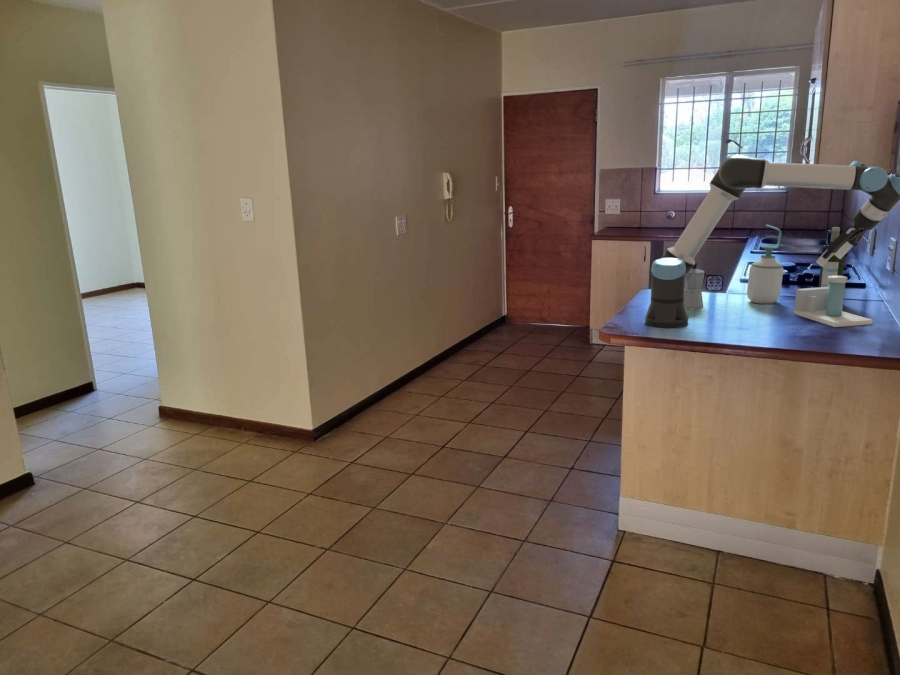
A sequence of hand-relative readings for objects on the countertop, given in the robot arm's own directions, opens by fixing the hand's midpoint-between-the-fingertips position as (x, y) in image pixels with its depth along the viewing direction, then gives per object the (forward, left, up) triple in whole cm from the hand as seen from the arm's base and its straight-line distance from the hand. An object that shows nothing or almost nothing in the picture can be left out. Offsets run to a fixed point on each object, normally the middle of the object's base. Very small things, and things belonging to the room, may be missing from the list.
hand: (828, 260), depth 238 cm
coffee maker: (+6, +46, -20) cm, 50 cm away
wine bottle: (+20, -4, -20) cm, 28 cm away
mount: (-9, -2, -20) cm, 22 cm away
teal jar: (-9, -2, -18) cm, 21 cm away
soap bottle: (+18, +20, -20) cm, 33 cm away
